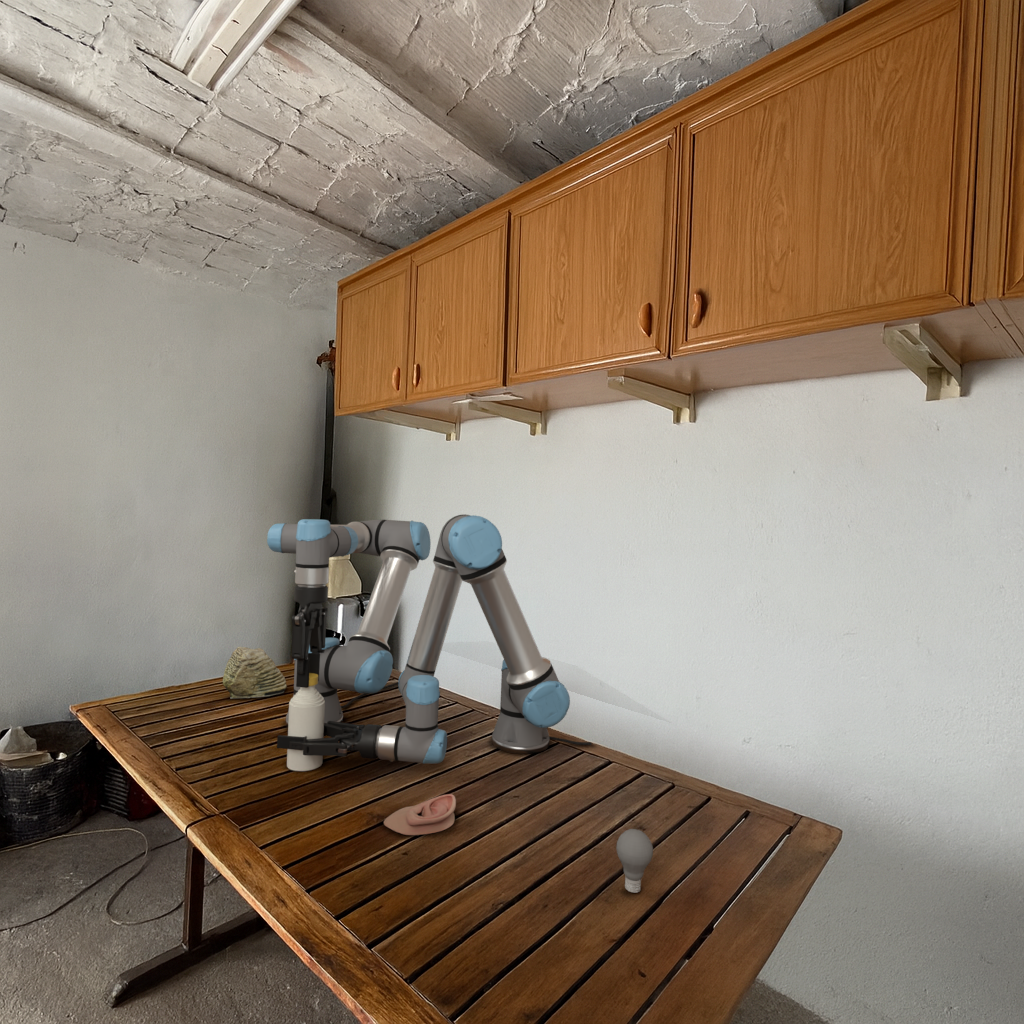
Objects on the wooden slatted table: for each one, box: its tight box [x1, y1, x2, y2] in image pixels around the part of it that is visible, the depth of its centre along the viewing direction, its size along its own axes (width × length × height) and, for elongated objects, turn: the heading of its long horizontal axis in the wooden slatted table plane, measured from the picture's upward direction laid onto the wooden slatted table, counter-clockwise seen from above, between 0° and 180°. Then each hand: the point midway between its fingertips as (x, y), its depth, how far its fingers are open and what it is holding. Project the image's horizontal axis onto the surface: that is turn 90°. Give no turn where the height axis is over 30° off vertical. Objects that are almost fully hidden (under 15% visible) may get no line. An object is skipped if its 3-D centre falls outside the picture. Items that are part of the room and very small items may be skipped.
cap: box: [309, 673, 318, 686], centre depth 149 cm, size 5×5×2 cm
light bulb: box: [615, 828, 654, 894], centre depth 106 cm, size 6×6×10 cm
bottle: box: [286, 685, 325, 772], centre depth 149 cm, size 8×8×20 cm
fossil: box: [222, 646, 288, 699], centre depth 198 cm, size 9×18×15 cm, turn 132°
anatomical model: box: [383, 793, 457, 836], centre depth 125 cm, size 13×4×12 cm
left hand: (307, 683), depth 149 cm, fingers closed on cap, 4 cm apart
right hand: (286, 734), depth 150 cm, fingers closed on bottle, 8 cm apart
